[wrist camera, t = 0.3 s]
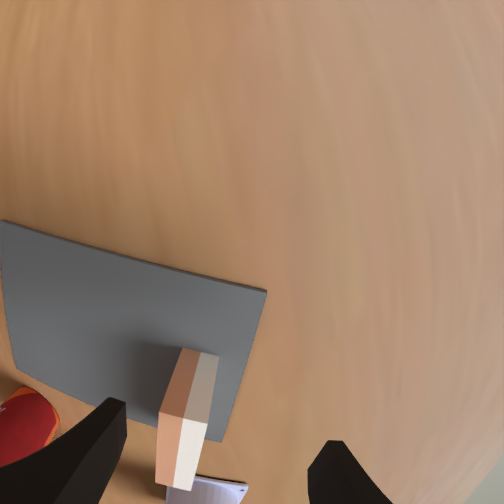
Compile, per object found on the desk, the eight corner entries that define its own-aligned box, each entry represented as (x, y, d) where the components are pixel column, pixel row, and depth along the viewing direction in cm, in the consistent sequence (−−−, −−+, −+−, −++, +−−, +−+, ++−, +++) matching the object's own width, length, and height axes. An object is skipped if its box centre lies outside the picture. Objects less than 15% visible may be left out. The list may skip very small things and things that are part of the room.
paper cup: (3, 367, 20) (-71, 448, 7) (59, 394, 20) (-12, 502, 7) (22, 417, 22) (-32, 494, 9) (75, 443, 22) (27, 537, 9)
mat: (221, 439, 21) (221, 442, 21) (18, 366, 20) (16, 368, 20) (266, 290, 17) (267, 293, 17) (3, 219, 16) (0, 220, 16)
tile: (201, 431, 20) (190, 491, 15) (171, 424, 20) (155, 482, 14) (219, 356, 18) (207, 423, 12) (182, 347, 18) (159, 411, 12)
